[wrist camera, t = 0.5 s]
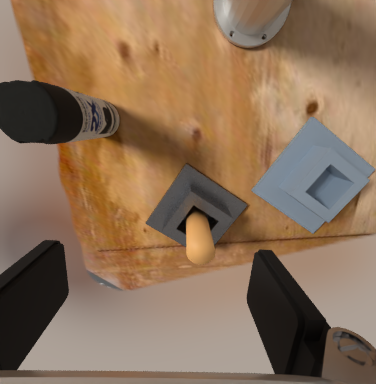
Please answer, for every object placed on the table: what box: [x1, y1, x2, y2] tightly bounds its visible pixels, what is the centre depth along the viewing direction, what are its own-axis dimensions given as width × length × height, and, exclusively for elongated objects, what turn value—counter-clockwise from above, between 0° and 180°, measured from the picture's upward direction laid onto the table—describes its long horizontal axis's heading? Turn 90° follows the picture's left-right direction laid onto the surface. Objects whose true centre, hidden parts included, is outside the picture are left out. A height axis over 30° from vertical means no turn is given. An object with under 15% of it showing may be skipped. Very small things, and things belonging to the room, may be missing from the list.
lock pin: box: [186, 205, 215, 264], centre depth 38 cm, size 4×4×14 cm
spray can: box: [0, 80, 119, 144], centre depth 29 cm, size 7×7×20 cm
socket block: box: [251, 117, 375, 233], centre depth 40 cm, size 18×18×6 cm
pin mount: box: [146, 163, 247, 247], centre depth 42 cm, size 16×16×6 cm
